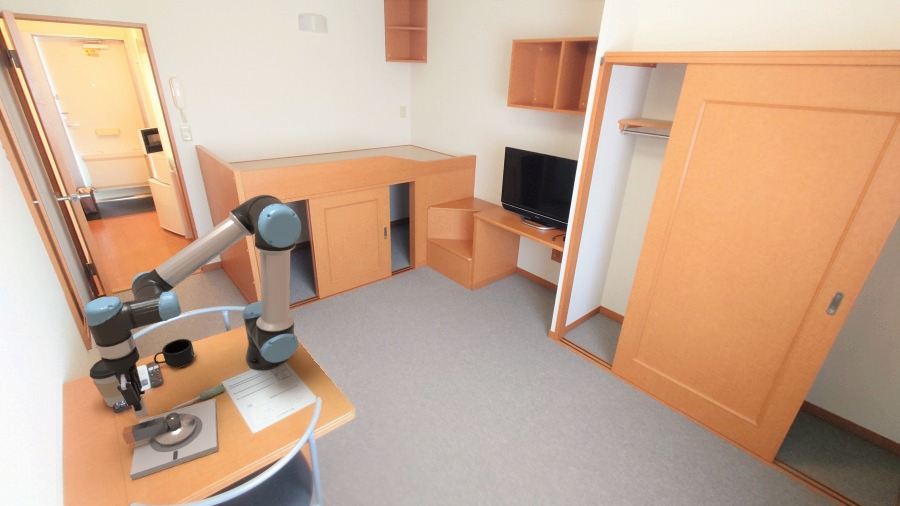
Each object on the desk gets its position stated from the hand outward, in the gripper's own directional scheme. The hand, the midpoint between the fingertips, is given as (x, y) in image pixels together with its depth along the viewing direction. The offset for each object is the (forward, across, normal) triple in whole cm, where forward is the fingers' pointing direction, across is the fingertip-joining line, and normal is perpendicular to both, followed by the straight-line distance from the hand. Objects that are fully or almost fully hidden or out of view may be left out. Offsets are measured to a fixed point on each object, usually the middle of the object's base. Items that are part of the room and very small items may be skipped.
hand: (142, 415), depth 118 cm
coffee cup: (+7, -18, -9) cm, 22 cm away
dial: (+4, +7, +5) cm, 9 cm away
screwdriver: (+6, -8, +14) cm, 17 cm away
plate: (+6, +7, +8) cm, 12 cm away
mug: (+7, -30, +6) cm, 32 cm away
